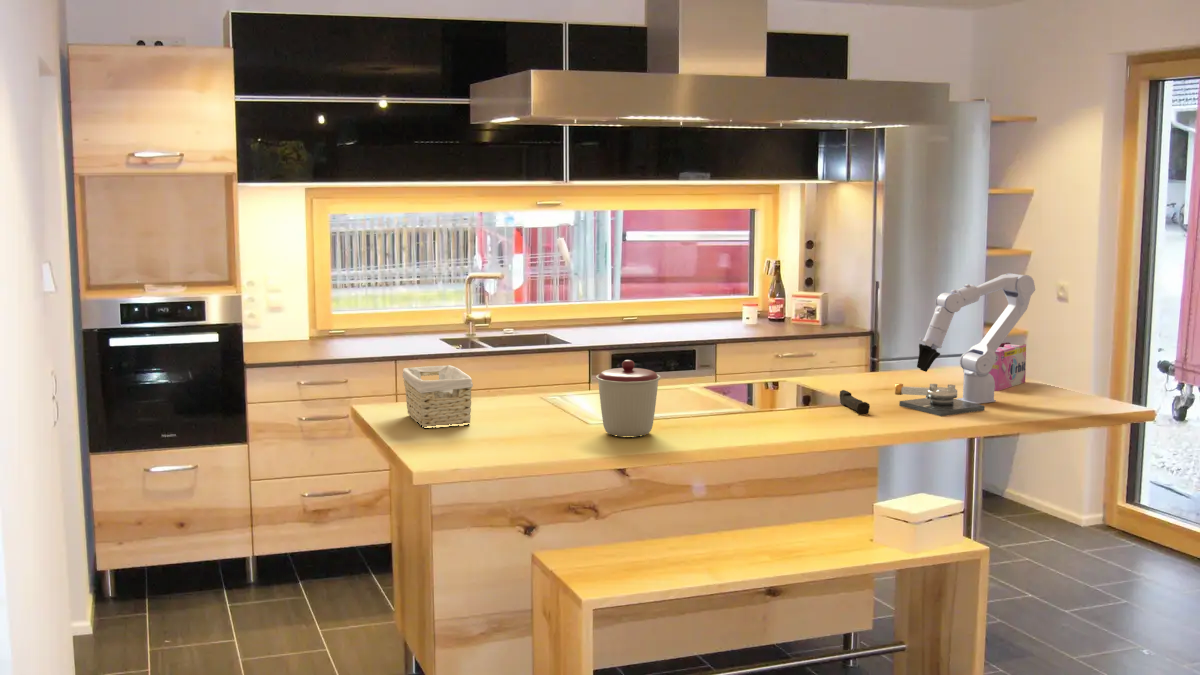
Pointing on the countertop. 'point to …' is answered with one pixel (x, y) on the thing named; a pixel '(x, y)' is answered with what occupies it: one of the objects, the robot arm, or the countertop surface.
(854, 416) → the countertop surface
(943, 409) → the plate
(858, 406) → the hand tool
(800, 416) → the countertop surface
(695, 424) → the countertop surface
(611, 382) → the canister
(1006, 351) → the gum box
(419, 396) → the storage basket
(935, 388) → the grey mechanical part
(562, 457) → the countertop surface
